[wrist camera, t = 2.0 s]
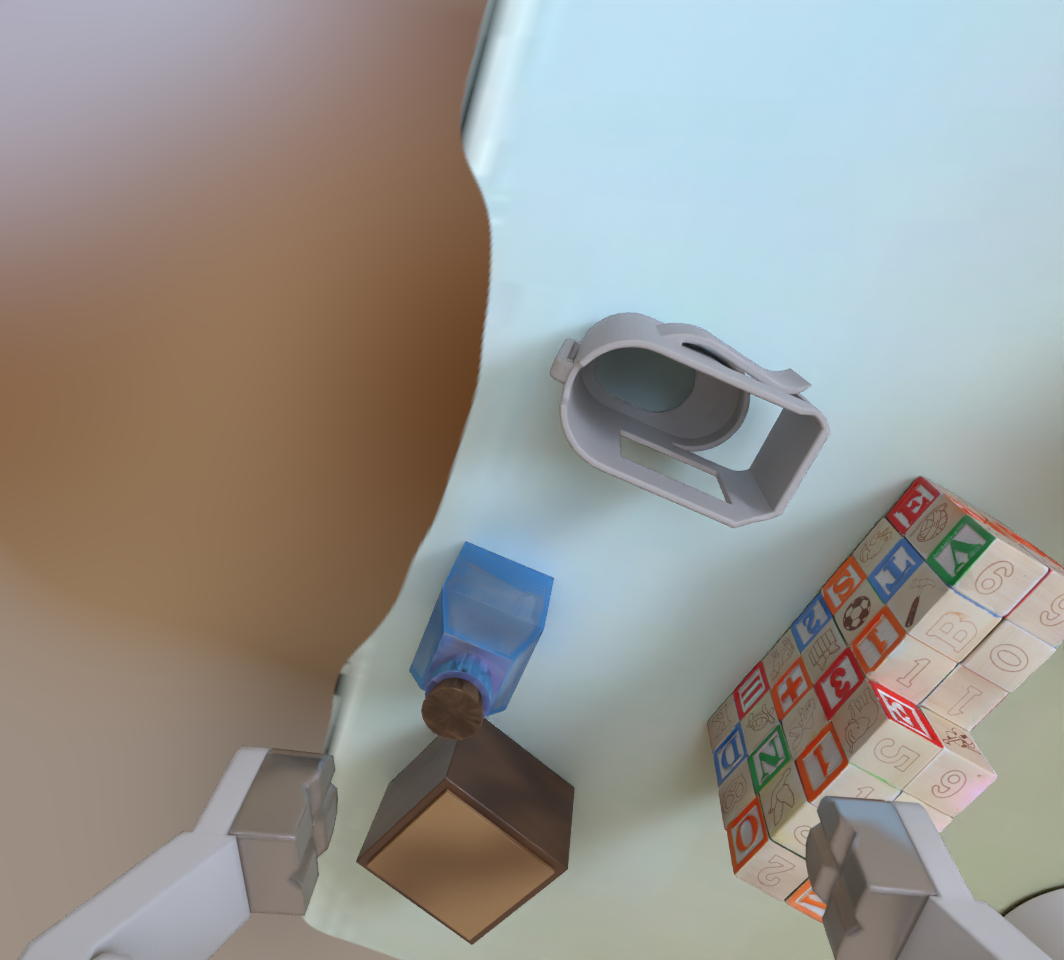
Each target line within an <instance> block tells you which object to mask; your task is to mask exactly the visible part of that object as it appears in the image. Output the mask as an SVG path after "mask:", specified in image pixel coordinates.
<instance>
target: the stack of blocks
mask: <svg viewBox="0 0 1064 960" xmlns="http://www.w3.org/2000/svg"><path fill="white" fill-rule="evenodd" d="M1063 641H1064V568H1063V567H1062V566H1061V565H1059V564H1058V563H1057V562H1055V561H1054V560H1053V559H1051V558H1050V557H1049V556H1047V555H1046V554H1045V553H1043V552H1042V551H1041V550H1039V549H1038V548H1037V547H1035V546H1034V545H1032V544H1030V543H1029V542H1028V541H1026V540H1025V539H1023V538H1022V537H1021V536H1019V535H1018V534H1017V533H1015V532H1014V531H1012V530H1011V529H1010V528H1008V527H1007V526H1005V525H1004V524H1002V523H1001V522H999V521H997V520H995V519H994V518H992V517H990V516H989V515H987V514H985V513H984V512H982V511H980V510H979V509H977V508H975V507H974V506H972V505H970V504H969V503H967V502H965V501H964V500H962V499H961V498H959V497H958V496H956V495H954V494H953V493H951V492H949V491H948V490H946V489H944V488H943V487H941V486H939V485H938V484H936V483H934V482H932V481H930V480H928V479H927V478H925V477H923V476H919V477H918V478H917V479H916V480H915V482H914V483H913V484H912V485H911V487H910V488H909V489H908V490H907V492H906V493H905V494H904V495H903V496H902V498H901V499H900V500H899V501H898V502H897V504H896V505H895V506H894V507H893V509H892V510H891V511H890V512H889V513H888V515H887V517H885V518H882V519H881V520H880V521H879V523H878V524H877V525H876V526H875V527H874V528H873V529H872V531H871V532H870V533H869V534H868V535H867V537H866V538H865V539H864V540H863V541H862V542H861V544H860V545H859V546H858V547H857V548H856V550H855V551H854V553H853V554H852V555H851V556H850V557H849V558H848V559H847V560H846V561H845V562H844V563H843V564H842V566H841V567H840V568H839V569H838V570H837V571H836V573H835V574H834V575H833V576H832V577H831V578H830V579H829V581H828V582H827V583H826V584H825V585H824V587H823V588H822V589H821V593H819V594H818V595H817V596H816V598H815V599H814V600H813V601H812V602H811V604H810V605H809V606H808V607H807V608H806V609H805V611H804V612H803V613H802V614H801V615H800V616H799V618H798V619H797V620H796V621H795V622H794V623H793V624H792V626H791V628H790V629H789V630H788V631H787V632H786V633H785V634H784V636H783V637H782V638H781V639H780V640H779V641H778V643H777V644H776V645H775V646H774V647H773V649H772V650H771V651H770V652H769V653H768V654H767V655H766V657H765V658H764V659H763V660H762V661H760V662H759V663H758V664H757V665H756V666H755V667H754V669H753V670H752V671H751V672H750V673H749V674H748V676H747V677H746V678H745V679H744V680H743V681H742V683H741V684H740V685H739V686H738V687H737V688H736V689H735V691H734V693H733V694H731V695H730V696H729V697H728V698H727V699H726V700H725V702H724V703H723V704H722V705H721V706H720V707H719V709H718V710H717V711H716V712H715V713H714V714H713V716H712V717H711V718H710V719H709V721H708V723H707V725H708V731H709V736H710V742H711V748H712V753H713V754H714V763H715V768H716V773H717V781H718V787H719V798H720V805H721V811H722V817H723V822H724V828H725V830H726V831H727V835H728V841H729V848H730V854H731V860H732V866H733V871H734V874H735V876H736V877H738V878H740V879H742V880H743V881H745V882H747V883H749V884H751V885H753V886H754V887H756V888H758V889H760V890H762V891H763V892H765V893H767V894H769V895H770V896H772V897H774V898H775V899H777V900H779V901H783V900H785V902H786V903H787V904H788V905H790V906H791V907H793V908H795V909H797V910H799V911H800V912H802V913H804V914H806V915H808V916H810V917H812V918H814V919H816V920H817V921H819V922H821V923H823V921H822V917H823V915H824V912H825V909H826V907H827V905H826V904H825V903H824V902H823V901H822V900H821V899H820V898H819V897H818V896H817V895H816V894H815V893H814V892H813V890H812V887H811V884H810V880H809V877H808V873H807V867H806V861H805V857H806V841H807V837H808V834H809V831H810V829H811V828H812V827H814V826H815V825H817V824H818V823H820V819H819V816H818V813H817V808H818V806H819V803H820V801H821V799H823V798H824V797H825V796H839V797H853V798H867V799H881V800H885V801H899V802H911V803H920V804H921V805H922V806H923V807H924V808H925V809H926V810H927V812H928V814H929V816H930V818H931V820H932V822H933V823H934V825H935V827H936V829H937V831H938V833H939V834H940V833H941V832H942V831H943V830H944V829H945V828H946V827H947V826H948V825H949V824H950V823H951V822H952V819H953V817H955V816H958V815H959V814H960V813H961V812H962V811H963V810H964V809H965V808H966V807H967V806H968V805H969V804H970V803H971V802H972V801H973V800H975V799H976V798H977V797H978V796H979V795H980V794H981V793H982V792H983V791H984V790H985V789H986V788H987V787H988V786H989V785H990V784H991V783H992V782H994V781H995V780H996V779H997V777H998V776H997V774H996V773H995V772H994V770H993V769H992V767H991V766H990V764H989V762H988V761H987V759H986V758H985V756H984V755H983V753H982V752H981V750H980V749H979V747H978V746H977V744H976V743H975V741H974V740H973V738H972V737H971V735H970V733H969V732H970V731H971V730H972V729H973V728H974V727H975V726H976V725H977V724H978V723H980V722H981V721H982V720H983V719H984V718H985V717H986V716H987V715H988V714H989V713H990V712H991V711H992V710H993V709H994V708H995V707H996V706H997V705H998V704H999V703H1000V702H1001V701H1002V700H1003V699H1004V698H1005V697H1006V696H1007V695H1008V694H1009V693H1011V692H1013V691H1015V690H1016V689H1017V688H1018V687H1019V686H1020V685H1021V684H1022V683H1023V682H1024V681H1025V680H1026V679H1027V678H1028V677H1029V676H1030V675H1031V674H1032V673H1033V672H1034V671H1035V670H1036V669H1038V668H1039V667H1040V666H1041V665H1042V664H1043V663H1044V662H1045V661H1046V660H1047V659H1048V658H1049V657H1050V656H1051V655H1052V654H1053V653H1054V652H1055V651H1056V649H1057V648H1056V647H1057V646H1059V645H1060V644H1061V643H1062V642H1063Z"/></svg>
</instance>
